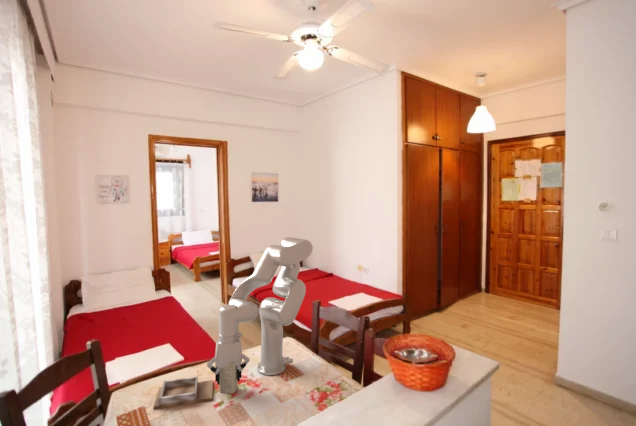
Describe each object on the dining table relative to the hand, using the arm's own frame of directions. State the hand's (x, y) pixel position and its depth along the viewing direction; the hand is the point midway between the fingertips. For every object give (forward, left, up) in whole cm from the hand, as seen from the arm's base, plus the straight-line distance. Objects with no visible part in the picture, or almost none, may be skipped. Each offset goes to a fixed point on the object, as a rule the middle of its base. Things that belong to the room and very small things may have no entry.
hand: (228, 380), depth 129 cm
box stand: (+16, -1, -4) cm, 16 cm away
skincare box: (0, 0, -4) cm, 4 cm away
